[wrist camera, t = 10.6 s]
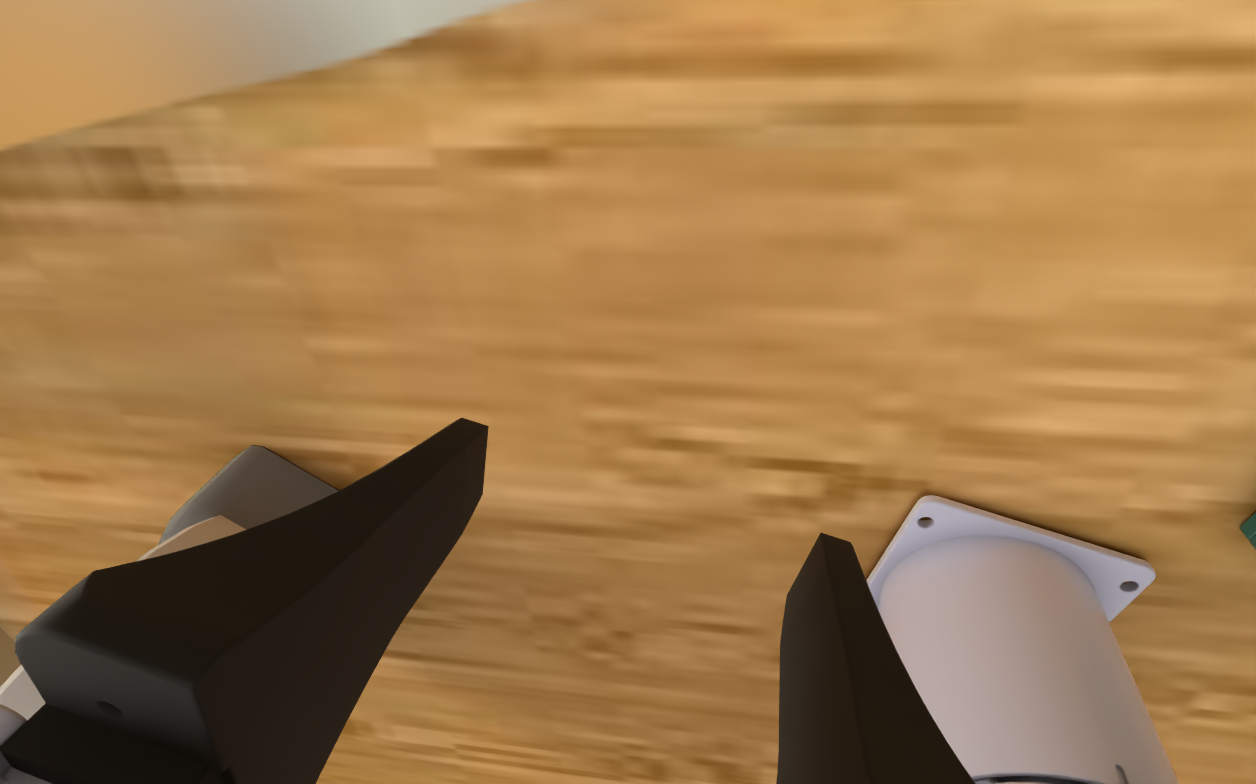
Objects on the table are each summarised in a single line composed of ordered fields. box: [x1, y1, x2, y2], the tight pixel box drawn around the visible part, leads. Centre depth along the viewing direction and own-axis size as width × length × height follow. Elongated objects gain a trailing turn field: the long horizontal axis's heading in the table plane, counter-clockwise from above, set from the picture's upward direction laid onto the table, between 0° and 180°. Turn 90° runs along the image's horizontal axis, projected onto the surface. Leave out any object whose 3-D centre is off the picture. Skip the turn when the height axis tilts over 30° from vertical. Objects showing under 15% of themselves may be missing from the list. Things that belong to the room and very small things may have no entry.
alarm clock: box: [0, 446, 338, 720], centre depth 27 cm, size 16×10×18 cm, turn 150°
